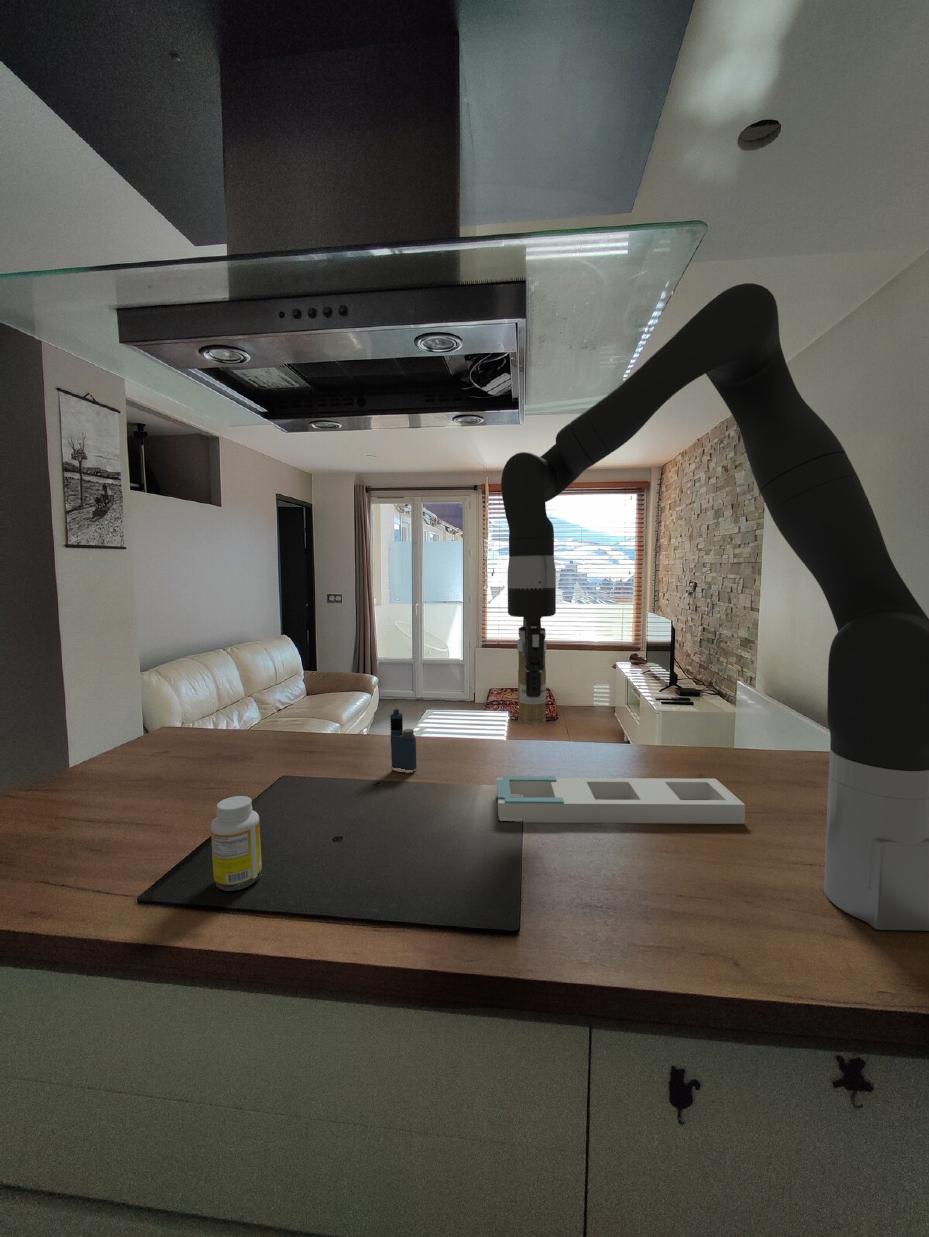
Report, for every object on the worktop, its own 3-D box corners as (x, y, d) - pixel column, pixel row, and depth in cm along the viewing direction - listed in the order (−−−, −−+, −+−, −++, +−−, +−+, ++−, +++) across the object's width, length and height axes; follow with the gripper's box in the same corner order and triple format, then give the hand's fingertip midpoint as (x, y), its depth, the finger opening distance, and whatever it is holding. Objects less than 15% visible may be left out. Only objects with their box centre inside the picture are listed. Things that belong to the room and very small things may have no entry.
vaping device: (395, 766, 103) (394, 707, 102) (418, 770, 101) (417, 710, 100) (388, 771, 101) (387, 710, 100) (412, 774, 99) (411, 713, 98)
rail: (744, 823, 78) (745, 802, 77) (498, 822, 79) (498, 801, 79) (714, 795, 88) (715, 776, 87) (497, 794, 89) (496, 776, 89)
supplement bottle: (241, 864, 68) (237, 789, 67) (271, 875, 66) (268, 797, 65) (203, 887, 63) (199, 806, 63) (234, 899, 61) (230, 816, 60)
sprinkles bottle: (525, 727, 80) (524, 641, 79) (513, 719, 84) (512, 637, 83) (551, 724, 81) (551, 639, 80) (539, 716, 85) (538, 636, 84)
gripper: (562, 586, 74) (562, 703, 75) (549, 584, 88) (550, 683, 89) (509, 586, 74) (510, 703, 75) (505, 585, 88) (506, 683, 90)
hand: (532, 692), depth 82 cm, fingers closed on sprinkles bottle, 4 cm apart
